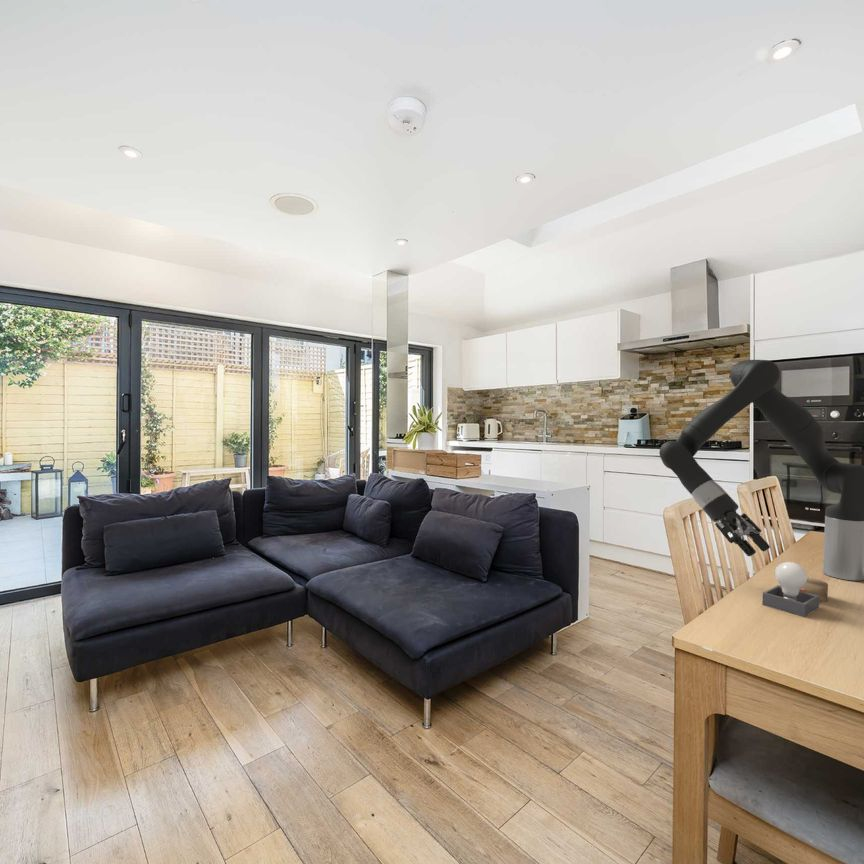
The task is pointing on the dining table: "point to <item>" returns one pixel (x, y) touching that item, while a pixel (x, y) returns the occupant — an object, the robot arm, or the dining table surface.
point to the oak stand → (817, 588)
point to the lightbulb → (791, 579)
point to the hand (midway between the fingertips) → (760, 552)
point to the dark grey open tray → (791, 601)
